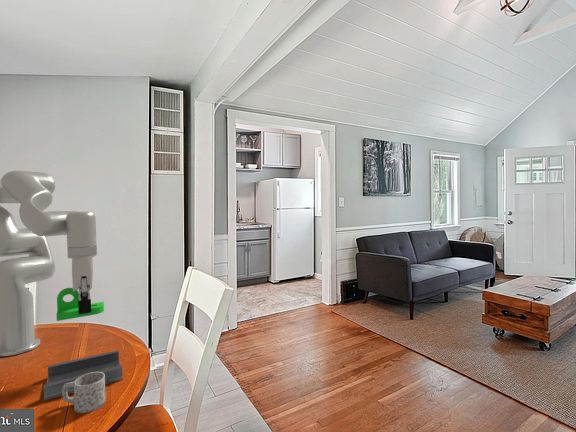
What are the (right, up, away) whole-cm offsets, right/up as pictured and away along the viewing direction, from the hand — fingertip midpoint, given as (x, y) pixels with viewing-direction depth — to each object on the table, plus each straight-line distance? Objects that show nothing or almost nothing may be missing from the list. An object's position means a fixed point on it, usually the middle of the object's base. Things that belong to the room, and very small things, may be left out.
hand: (84, 309), depth 98 cm
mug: (+11, -19, -18) cm, 28 cm away
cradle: (+4, -18, -6) cm, 20 cm away
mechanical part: (-1, -1, 0) cm, 2 cm away
